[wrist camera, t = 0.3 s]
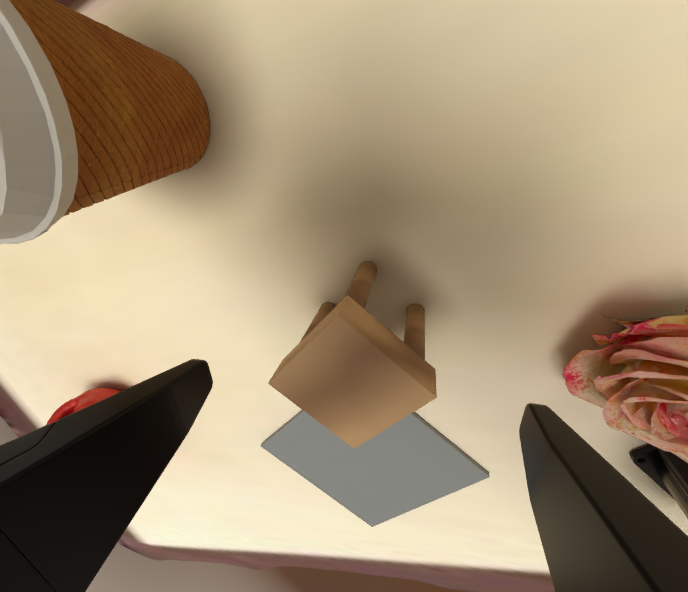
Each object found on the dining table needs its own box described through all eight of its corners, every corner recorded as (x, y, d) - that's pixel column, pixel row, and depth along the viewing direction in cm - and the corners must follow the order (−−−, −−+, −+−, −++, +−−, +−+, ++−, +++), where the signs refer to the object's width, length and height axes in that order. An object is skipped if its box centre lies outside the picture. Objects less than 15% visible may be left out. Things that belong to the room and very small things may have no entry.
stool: (432, 312, 22) (436, 397, 15) (374, 358, 25) (354, 448, 18) (366, 253, 21) (337, 315, 14) (313, 309, 24) (268, 383, 17)
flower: (777, 231, 14) (764, 344, 11) (906, 390, 14) (937, 557, 11) (566, 295, 23) (518, 369, 19) (647, 394, 23) (614, 487, 19)
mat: (488, 472, 27) (489, 476, 27) (372, 522, 34) (372, 526, 34) (356, 365, 25) (355, 368, 25) (262, 442, 32) (260, 446, 32)
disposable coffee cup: (221, 218, 22) (39, 296, 12) (97, 161, 22) (-193, 189, 12) (249, 56, 17) (-16, -57, 7) (91, -14, 17) (-403, -227, 7)
